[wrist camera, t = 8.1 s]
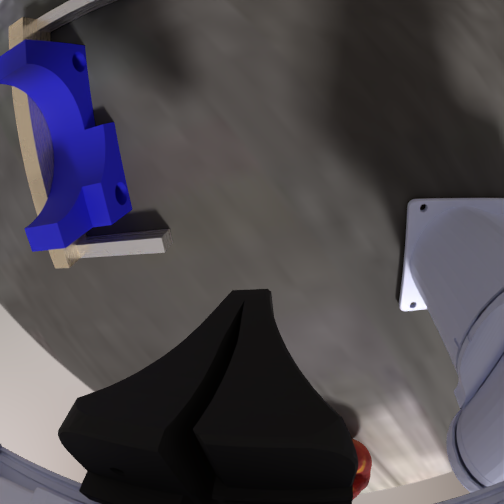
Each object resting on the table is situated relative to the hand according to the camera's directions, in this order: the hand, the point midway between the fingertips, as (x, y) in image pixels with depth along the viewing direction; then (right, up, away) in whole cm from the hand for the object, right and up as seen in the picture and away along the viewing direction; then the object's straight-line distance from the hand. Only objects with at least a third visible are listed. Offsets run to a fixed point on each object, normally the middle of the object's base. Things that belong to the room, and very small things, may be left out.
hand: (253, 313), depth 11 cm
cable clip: (-11, +10, +7) cm, 17 cm away
